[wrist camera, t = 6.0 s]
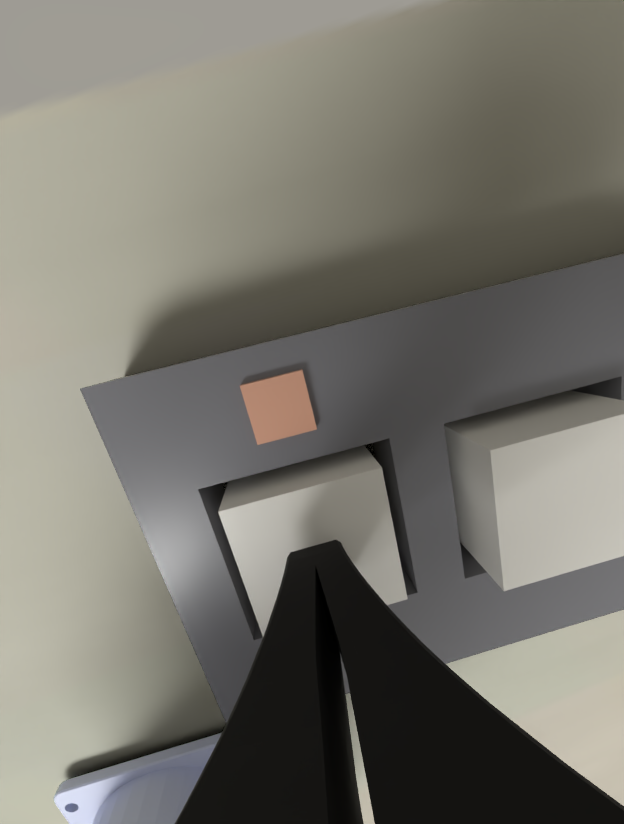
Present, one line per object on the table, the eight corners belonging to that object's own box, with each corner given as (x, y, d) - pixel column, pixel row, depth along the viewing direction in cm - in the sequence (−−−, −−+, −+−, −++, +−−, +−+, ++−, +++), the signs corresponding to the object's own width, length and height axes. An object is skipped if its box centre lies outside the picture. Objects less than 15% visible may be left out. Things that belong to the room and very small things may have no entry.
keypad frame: (750, 512, 14) (845, 548, 12) (237, 663, 13) (228, 736, 10) (792, 211, 11) (934, 176, 8) (122, 377, 10) (74, 390, 7)
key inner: (382, 547, 12) (407, 599, 9) (266, 579, 12) (264, 641, 9) (358, 438, 11) (381, 467, 8) (231, 472, 10) (217, 512, 8)
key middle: (571, 506, 11) (646, 549, 9) (457, 538, 11) (504, 591, 9) (568, 390, 10) (652, 406, 8) (441, 424, 10) (490, 450, 8)
